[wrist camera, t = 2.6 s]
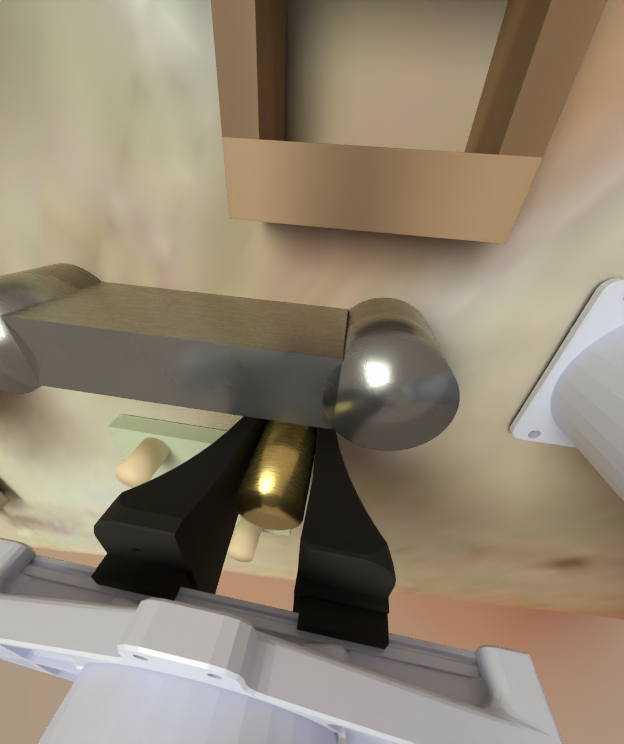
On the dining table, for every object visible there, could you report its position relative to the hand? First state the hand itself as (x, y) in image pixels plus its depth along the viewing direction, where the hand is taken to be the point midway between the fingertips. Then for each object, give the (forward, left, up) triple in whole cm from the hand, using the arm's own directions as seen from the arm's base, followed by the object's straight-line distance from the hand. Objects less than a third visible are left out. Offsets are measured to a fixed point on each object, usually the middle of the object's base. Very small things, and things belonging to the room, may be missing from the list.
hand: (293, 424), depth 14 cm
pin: (0, 0, -1) cm, 1 cm away
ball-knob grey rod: (+4, -4, -2) cm, 6 cm away
